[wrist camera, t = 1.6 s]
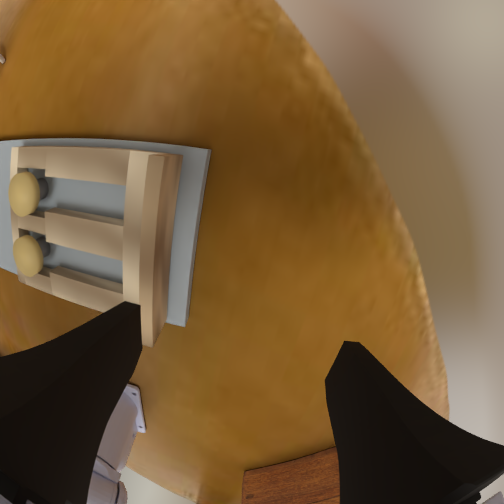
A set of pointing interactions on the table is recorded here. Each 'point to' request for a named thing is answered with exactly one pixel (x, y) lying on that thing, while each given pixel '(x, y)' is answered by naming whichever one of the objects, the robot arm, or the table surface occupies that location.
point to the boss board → (99, 203)
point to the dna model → (2, 59)
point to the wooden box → (295, 481)
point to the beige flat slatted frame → (108, 227)
